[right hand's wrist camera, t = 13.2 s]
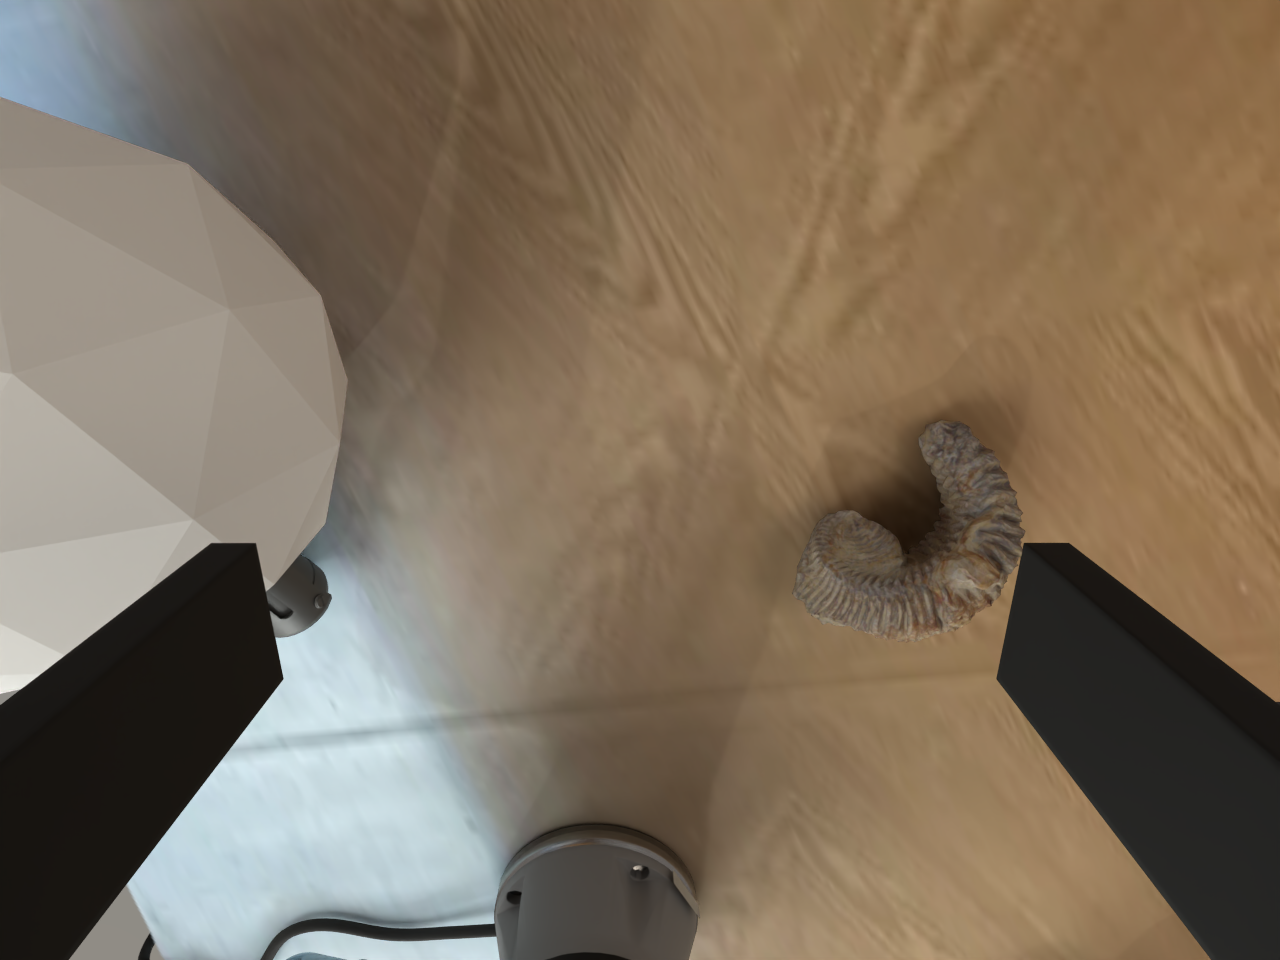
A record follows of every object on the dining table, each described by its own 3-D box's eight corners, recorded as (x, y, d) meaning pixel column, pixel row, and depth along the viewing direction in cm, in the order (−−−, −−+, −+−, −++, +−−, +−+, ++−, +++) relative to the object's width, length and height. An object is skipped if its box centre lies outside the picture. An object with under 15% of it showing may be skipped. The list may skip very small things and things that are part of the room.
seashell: (782, 565, 50) (825, 696, 43) (752, 470, 43) (797, 606, 36) (978, 507, 48) (1058, 633, 41) (979, 397, 41) (1074, 526, 34)
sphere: (217, -92, 26) (-398, 404, 12) (505, 438, 49) (414, 818, 35) (-245, 27, 31) (-1082, 486, 17) (218, 460, 54) (36, 803, 40)
